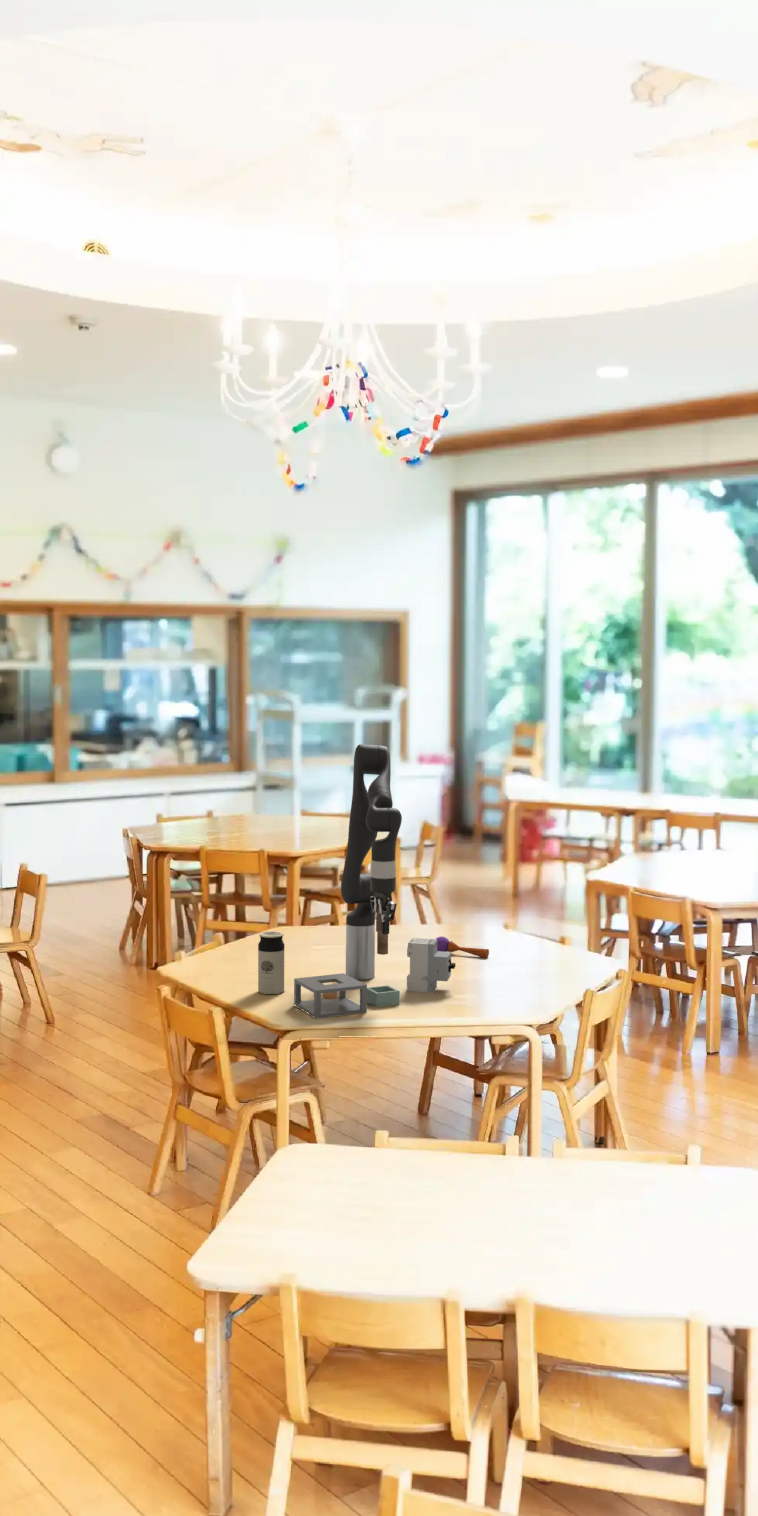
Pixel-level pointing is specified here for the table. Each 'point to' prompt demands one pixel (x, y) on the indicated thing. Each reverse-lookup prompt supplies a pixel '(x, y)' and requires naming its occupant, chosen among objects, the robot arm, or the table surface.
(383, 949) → the brown rounded rod
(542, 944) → the table surface
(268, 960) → the travel mug
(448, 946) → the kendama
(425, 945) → the circuit breaker
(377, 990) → the holder
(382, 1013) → the table surface
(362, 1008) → the gray open box frame
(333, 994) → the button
